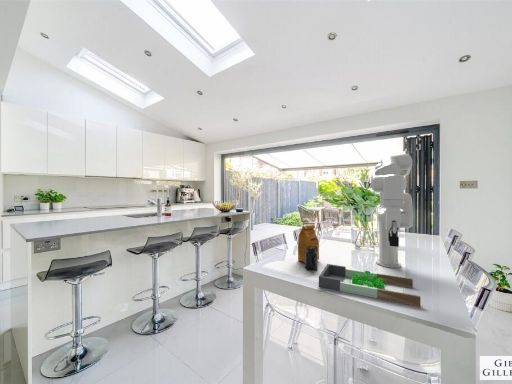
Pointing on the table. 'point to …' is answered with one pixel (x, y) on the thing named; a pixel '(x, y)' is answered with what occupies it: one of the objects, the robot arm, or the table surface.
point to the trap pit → (332, 277)
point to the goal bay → (358, 288)
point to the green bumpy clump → (365, 279)
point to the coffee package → (307, 241)
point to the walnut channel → (398, 296)
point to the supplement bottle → (311, 258)
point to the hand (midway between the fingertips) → (393, 243)
